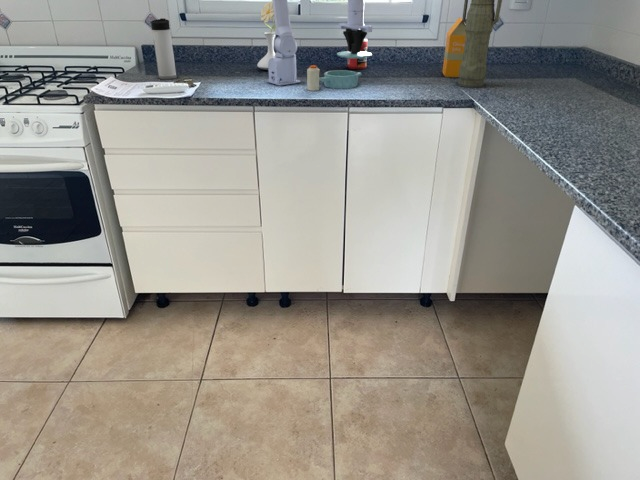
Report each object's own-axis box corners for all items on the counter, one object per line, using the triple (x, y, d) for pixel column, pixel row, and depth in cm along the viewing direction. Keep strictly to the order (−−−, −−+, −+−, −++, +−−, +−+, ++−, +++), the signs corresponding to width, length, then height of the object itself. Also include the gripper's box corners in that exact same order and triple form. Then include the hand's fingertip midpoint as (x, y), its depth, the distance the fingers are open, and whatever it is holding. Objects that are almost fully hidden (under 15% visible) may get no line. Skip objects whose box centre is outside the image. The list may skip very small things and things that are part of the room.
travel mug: (179, 76, 184) (171, 18, 174) (173, 79, 178) (164, 20, 169) (163, 75, 185) (154, 18, 175) (156, 79, 179) (147, 19, 169)
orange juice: (462, 72, 191) (469, 17, 182) (465, 77, 184) (473, 19, 174) (441, 72, 192) (448, 16, 182) (444, 76, 184) (451, 19, 175)
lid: (378, 57, 177) (379, 44, 175) (352, 60, 170) (352, 47, 168) (356, 53, 186) (356, 41, 184) (330, 56, 179) (330, 43, 177)
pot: (370, 84, 171) (370, 73, 169) (331, 91, 163) (332, 78, 161) (348, 79, 180) (349, 68, 178) (311, 85, 171) (311, 73, 169)
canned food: (359, 70, 196) (360, 40, 191) (343, 67, 201) (344, 39, 195) (369, 67, 202) (371, 38, 196) (353, 65, 206) (354, 37, 201)
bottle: (311, 91, 162) (311, 67, 159) (305, 89, 165) (304, 65, 161) (321, 89, 164) (321, 66, 161) (314, 87, 167) (314, 64, 164)
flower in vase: (253, 68, 199) (249, 0, 187) (279, 66, 203) (277, -1, 191) (264, 73, 189) (260, 2, 177) (291, 71, 193) (289, 1, 181)
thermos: (485, 89, 166) (504, -29, 149) (450, 85, 170) (465, -29, 153) (490, 84, 173) (509, -29, 156) (456, 81, 177) (471, -29, 160)
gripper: (378, 11, 168) (376, 53, 175) (349, 9, 178) (348, 48, 184) (364, 12, 164) (363, 55, 171) (335, 10, 174) (334, 50, 180)
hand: (354, 52), depth 177 cm, fingers closed on lid, 2 cm apart
